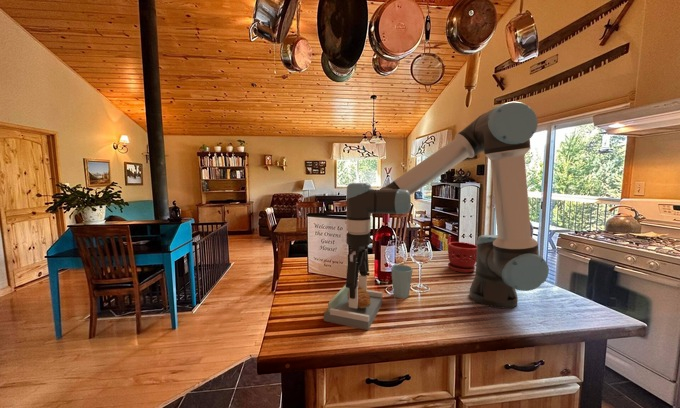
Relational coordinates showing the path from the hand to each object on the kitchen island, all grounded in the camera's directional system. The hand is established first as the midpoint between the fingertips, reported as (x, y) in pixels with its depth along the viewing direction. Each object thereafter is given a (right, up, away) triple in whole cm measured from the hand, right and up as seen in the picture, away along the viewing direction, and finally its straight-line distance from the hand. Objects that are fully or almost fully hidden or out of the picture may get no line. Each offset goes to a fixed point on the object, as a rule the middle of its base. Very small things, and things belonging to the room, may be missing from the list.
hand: (358, 300), depth 90 cm
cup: (+17, -3, +13) cm, 21 cm away
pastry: (+1, -1, 0) cm, 1 cm away
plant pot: (+51, 0, +41) cm, 66 cm away
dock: (-1, -4, +1) cm, 4 cm away
